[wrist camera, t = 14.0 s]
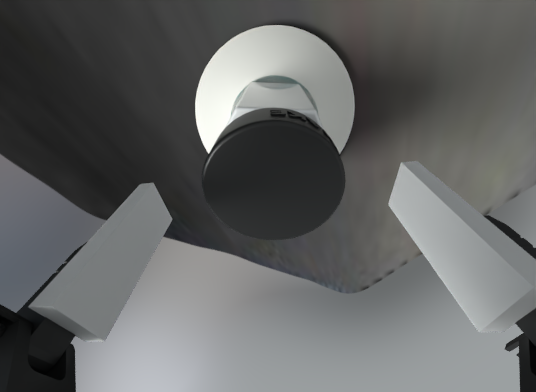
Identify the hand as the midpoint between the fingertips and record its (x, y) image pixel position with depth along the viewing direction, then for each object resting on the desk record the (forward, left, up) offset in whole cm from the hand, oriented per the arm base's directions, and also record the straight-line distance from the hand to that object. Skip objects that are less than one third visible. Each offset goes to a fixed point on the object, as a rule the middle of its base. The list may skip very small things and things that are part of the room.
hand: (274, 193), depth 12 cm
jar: (0, 0, -12) cm, 12 cm away
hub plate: (0, 0, -13) cm, 13 cm away
